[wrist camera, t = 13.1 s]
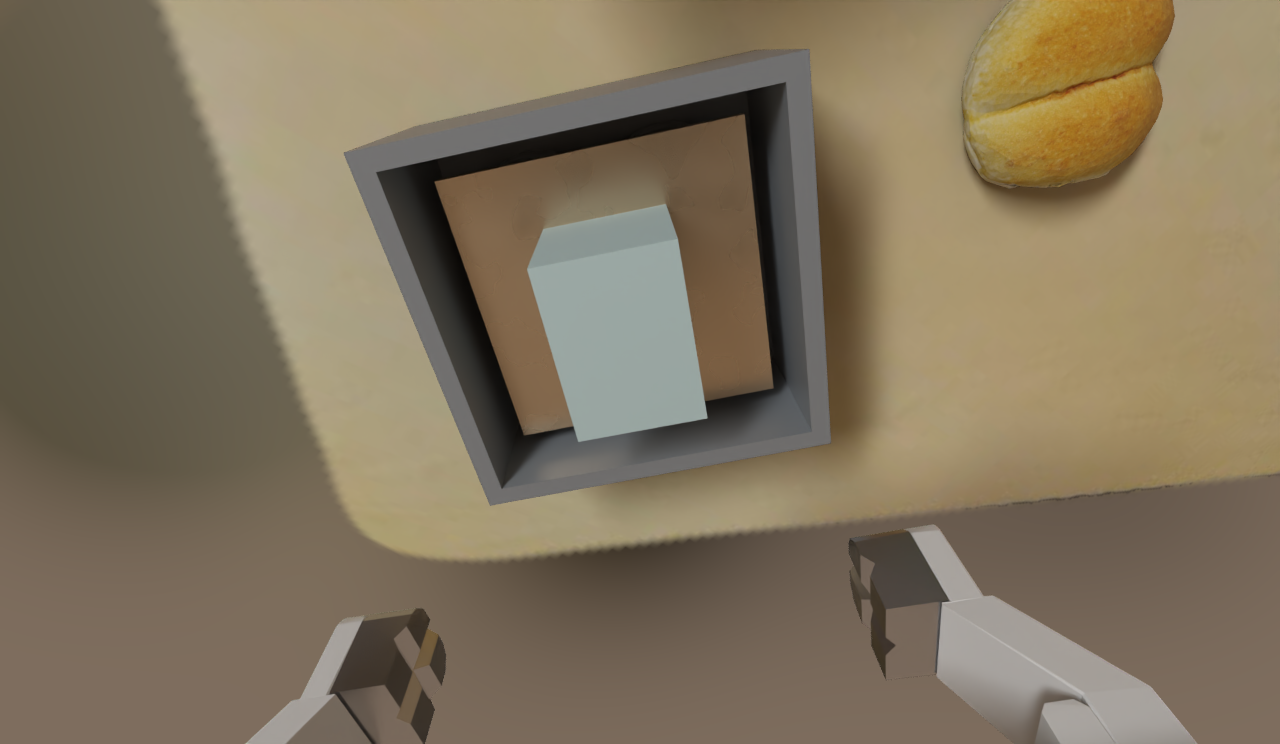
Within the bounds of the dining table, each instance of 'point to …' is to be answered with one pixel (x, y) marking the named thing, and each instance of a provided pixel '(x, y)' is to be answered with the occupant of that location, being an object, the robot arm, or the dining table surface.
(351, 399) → the dining table surface
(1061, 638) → the robot arm
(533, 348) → the brown layer
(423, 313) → the tote
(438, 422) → the dining table surface
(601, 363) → the pale green block
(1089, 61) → the bread roll
